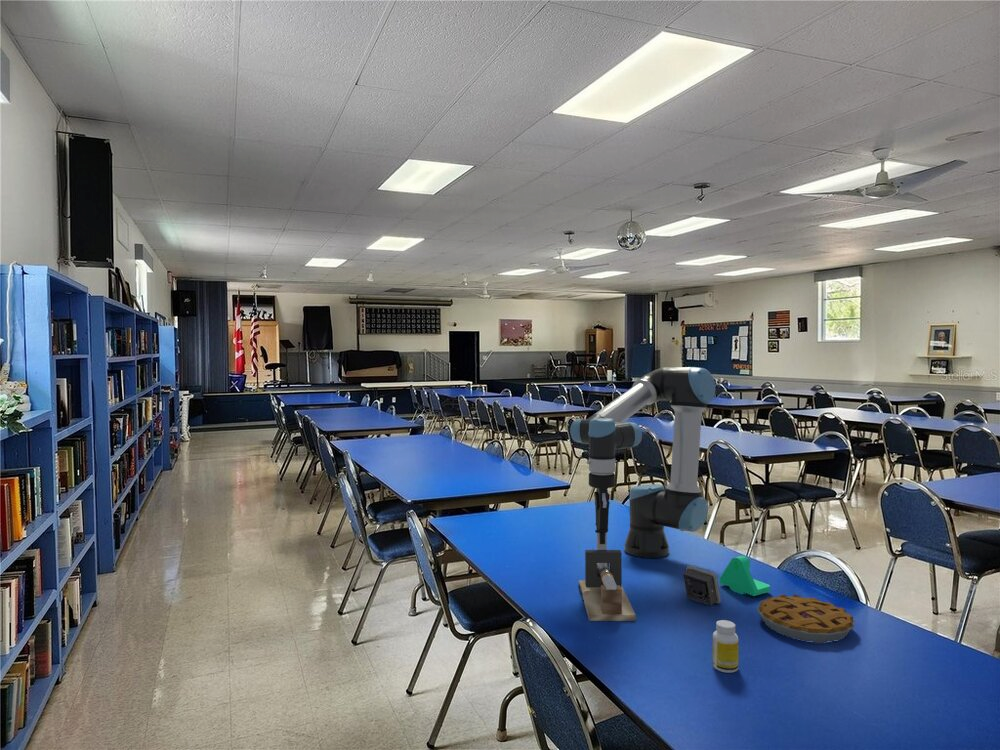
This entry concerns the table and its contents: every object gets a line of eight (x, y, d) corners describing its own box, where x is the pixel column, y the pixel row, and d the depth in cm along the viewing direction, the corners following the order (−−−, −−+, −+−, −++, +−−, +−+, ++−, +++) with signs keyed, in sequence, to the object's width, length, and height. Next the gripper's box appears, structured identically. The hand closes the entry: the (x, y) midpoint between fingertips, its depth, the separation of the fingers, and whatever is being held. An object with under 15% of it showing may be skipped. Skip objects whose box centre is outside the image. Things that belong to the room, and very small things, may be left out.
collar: (620, 584, 180) (620, 549, 180) (621, 587, 178) (621, 552, 177) (585, 584, 180) (585, 549, 180) (586, 587, 178) (586, 552, 177)
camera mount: (771, 594, 180) (772, 559, 180) (754, 600, 176) (754, 563, 176) (737, 581, 190) (737, 548, 190) (719, 586, 187) (719, 552, 186)
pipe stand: (619, 585, 187) (619, 558, 187) (635, 620, 162) (635, 590, 162) (579, 585, 188) (579, 558, 187) (589, 620, 163) (589, 590, 162)
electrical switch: (721, 603, 173) (720, 571, 172) (711, 610, 170) (709, 577, 169) (692, 593, 181) (690, 562, 180) (681, 600, 177) (679, 568, 177)
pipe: (604, 564, 187) (604, 553, 187) (618, 595, 163) (618, 583, 163) (593, 564, 187) (593, 553, 187) (605, 595, 163) (605, 583, 163)
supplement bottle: (743, 671, 136) (744, 627, 136) (722, 675, 135) (722, 630, 135) (728, 660, 142) (728, 617, 141) (707, 663, 140) (707, 620, 140)
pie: (739, 618, 164) (739, 599, 164) (799, 604, 173) (799, 586, 173) (810, 654, 144) (810, 633, 144) (874, 636, 153) (874, 616, 153)
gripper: (586, 468, 186) (586, 547, 187) (591, 476, 173) (591, 561, 174) (611, 468, 186) (611, 547, 187) (618, 477, 173) (618, 561, 174)
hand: (601, 553), depth 181 cm, fingers closed
